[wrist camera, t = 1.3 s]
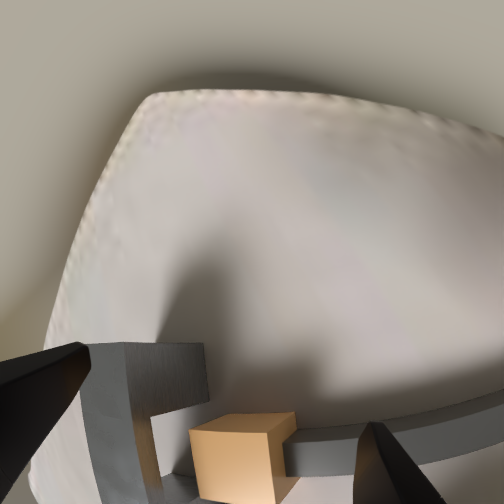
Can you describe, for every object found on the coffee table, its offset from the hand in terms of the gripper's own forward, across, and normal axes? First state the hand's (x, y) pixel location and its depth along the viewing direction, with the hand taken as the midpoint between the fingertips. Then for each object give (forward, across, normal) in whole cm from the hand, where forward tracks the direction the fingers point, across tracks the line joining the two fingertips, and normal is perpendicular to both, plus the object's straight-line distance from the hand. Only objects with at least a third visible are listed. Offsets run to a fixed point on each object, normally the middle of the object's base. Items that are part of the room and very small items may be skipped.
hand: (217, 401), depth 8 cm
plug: (+7, -10, +7) cm, 14 cm away
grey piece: (+8, +3, +14) cm, 17 cm away
